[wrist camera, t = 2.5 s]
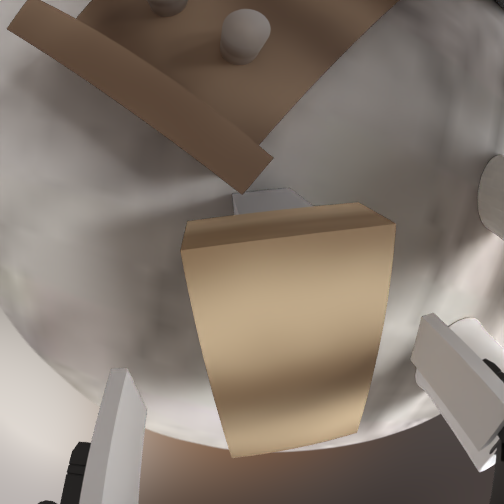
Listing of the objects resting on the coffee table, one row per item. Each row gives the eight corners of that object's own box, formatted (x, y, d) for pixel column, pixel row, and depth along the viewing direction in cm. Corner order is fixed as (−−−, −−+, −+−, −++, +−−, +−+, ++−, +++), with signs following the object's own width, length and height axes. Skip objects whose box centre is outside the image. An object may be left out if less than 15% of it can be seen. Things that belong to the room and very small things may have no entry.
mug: (389, 349, 21) (467, 465, 10) (465, 277, 20) (566, 363, 9) (427, 396, 26) (480, 477, 15) (484, 343, 24) (548, 412, 13)
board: (187, 221, 12) (180, 250, 9) (358, 202, 12) (396, 223, 9) (227, 417, 16) (231, 458, 14) (340, 396, 17) (356, 432, 14)
